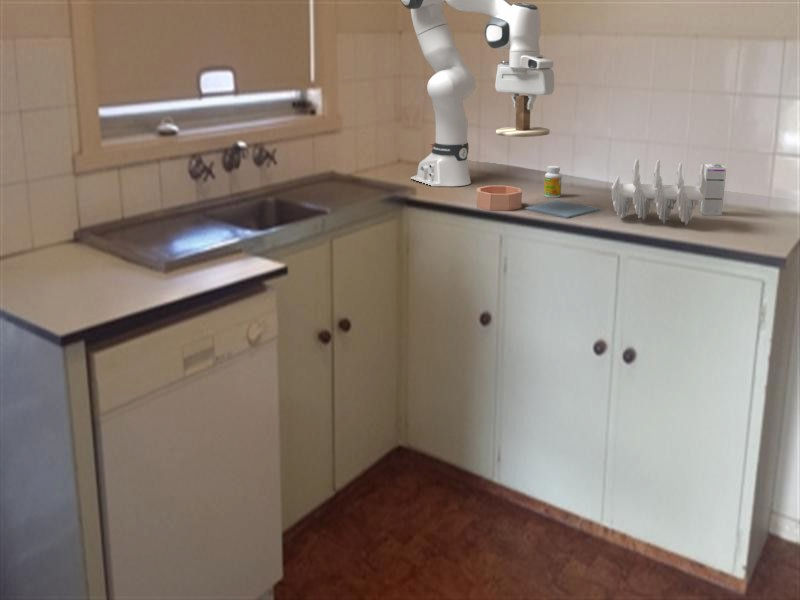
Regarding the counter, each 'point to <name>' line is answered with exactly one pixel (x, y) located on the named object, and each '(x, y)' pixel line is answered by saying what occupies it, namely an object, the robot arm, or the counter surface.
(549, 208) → the mat
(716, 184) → the syrup box
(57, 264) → the counter surface
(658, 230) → the counter surface
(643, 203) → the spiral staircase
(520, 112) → the lid
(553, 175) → the supplement bottle
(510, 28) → the robot arm
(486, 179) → the counter surface
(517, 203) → the bowl
